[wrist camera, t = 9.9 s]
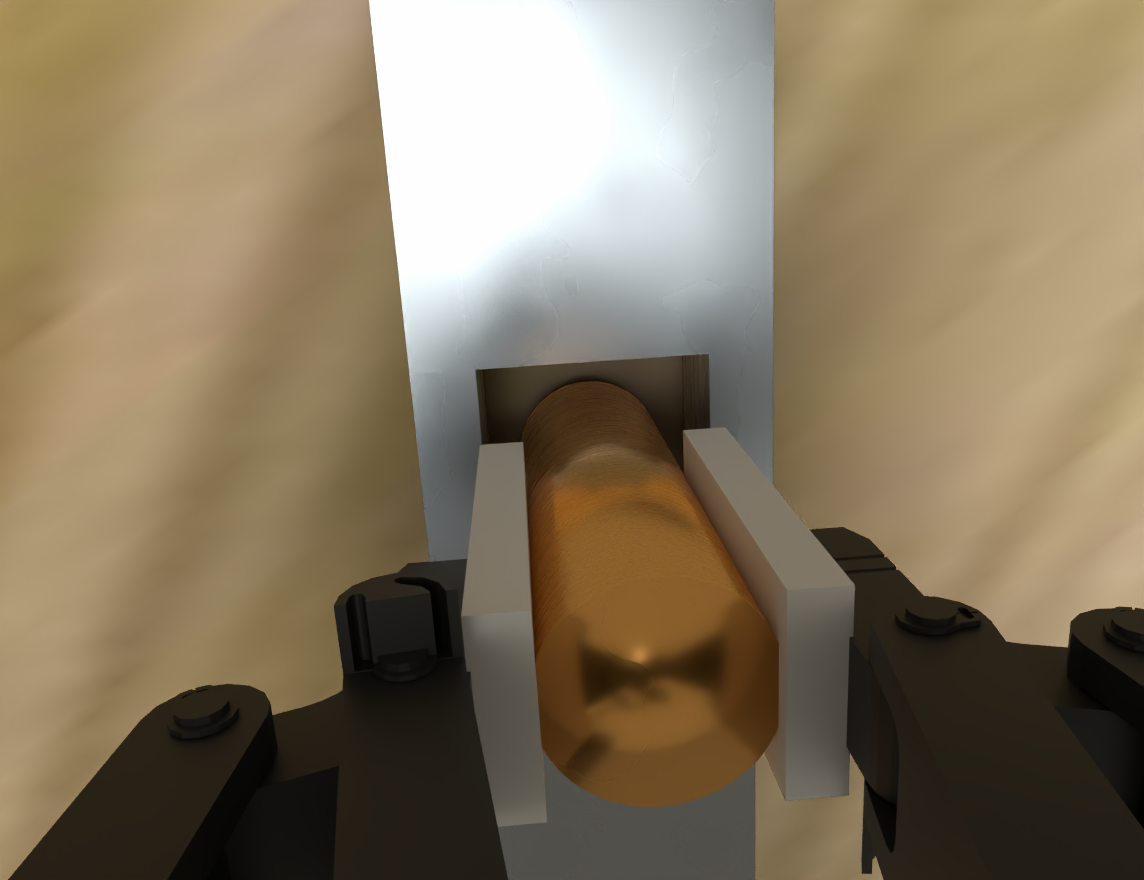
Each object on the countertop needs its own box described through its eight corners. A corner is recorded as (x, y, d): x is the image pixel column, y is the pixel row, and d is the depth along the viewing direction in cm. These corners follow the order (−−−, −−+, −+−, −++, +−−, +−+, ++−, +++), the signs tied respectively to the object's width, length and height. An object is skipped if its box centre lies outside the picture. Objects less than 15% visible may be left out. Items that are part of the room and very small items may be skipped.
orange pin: (659, 509, 21) (783, 797, 11) (524, 516, 21) (535, 815, 11) (657, 378, 20) (791, 569, 11) (516, 384, 20) (523, 585, 10)
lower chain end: (741, 854, 25) (755, 896, 24) (478, 878, 25) (476, 922, 23) (736, 245, 21) (753, 251, 19) (415, 264, 20) (408, 273, 19)
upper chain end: (738, 580, 23) (772, 640, 20) (450, 602, 23) (440, 666, 20) (734, -59, 19) (774, -100, 16) (383, -42, 19) (359, -80, 16)
